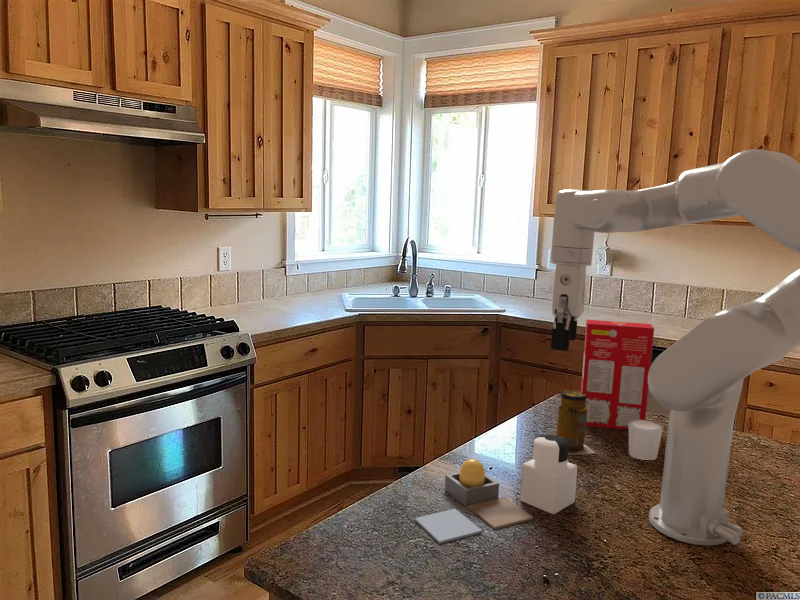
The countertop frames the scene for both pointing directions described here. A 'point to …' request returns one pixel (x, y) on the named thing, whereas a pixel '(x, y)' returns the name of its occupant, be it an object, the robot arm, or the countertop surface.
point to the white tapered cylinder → (644, 439)
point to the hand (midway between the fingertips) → (563, 344)
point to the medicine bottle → (549, 475)
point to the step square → (499, 512)
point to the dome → (472, 473)
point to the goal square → (447, 525)
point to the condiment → (573, 421)
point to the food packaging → (616, 372)
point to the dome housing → (471, 490)
